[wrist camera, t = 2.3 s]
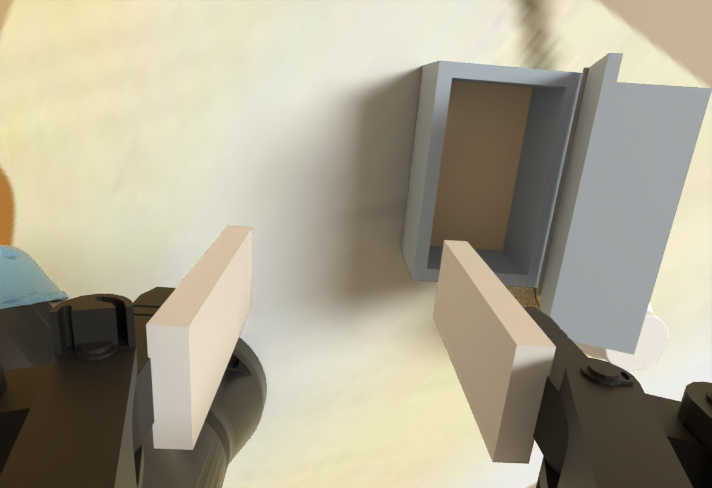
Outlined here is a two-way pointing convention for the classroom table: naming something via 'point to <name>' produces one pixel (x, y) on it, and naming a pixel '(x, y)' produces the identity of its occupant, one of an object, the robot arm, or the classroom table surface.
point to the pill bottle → (647, 347)
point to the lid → (616, 203)
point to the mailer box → (487, 166)
